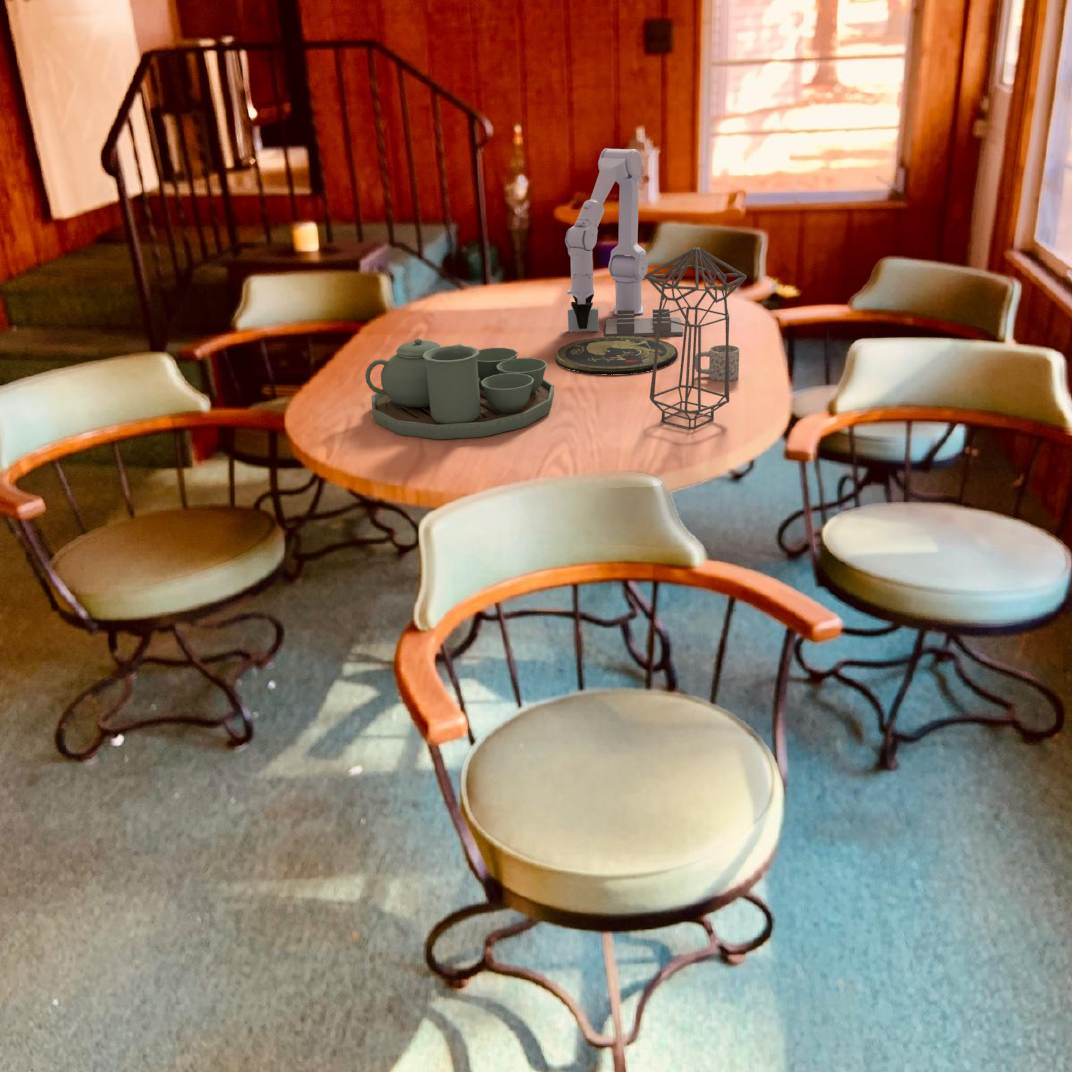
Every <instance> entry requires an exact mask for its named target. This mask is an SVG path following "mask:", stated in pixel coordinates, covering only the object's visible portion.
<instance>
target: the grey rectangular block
mask: <svg viewBox="0 0 1072 1072" xmlns="http://www.w3.org/2000/svg"><path fill="white" fill-rule="evenodd" d="M567 320H568V321H567V323H568V325H567V326H568V327H567V328H568V329H567V330H568V331H569V332H568V331H567V332H568V333H572V332H571V331H597V332H599V331H598V330H600V328H599V327H600V326H599V325H600V324H599V323H600V322H599V307H591V309H590V312H589V318H588V325H587V329H579V327H578V323H577V319H576V315H575V312H574V310H573V308H572V307H568V308H567Z"/></svg>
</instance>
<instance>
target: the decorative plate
mask: <svg viewBox="0 0 1072 1072" xmlns="http://www.w3.org/2000/svg"><path fill="white" fill-rule="evenodd" d="M655 346H656V338H653V337H637V336H599V337H597V336H596V337H591V338H585V339H580V340H576V341H572V342H570V343H567V344H565V345H563V346H562V347H560V348H559V349H558V350H557V351H556V355H555V362H556V361H557V362H556V363H557V364H558V365H559V366H560V367H562V368H563V367H564V369H566V370H568V369H570V370H569V371H571V370H575V371H574V372H576V371H579V372H578V373H580V372H583V373H582V374H587V373H589V374H588V375H596V374H607V375H606V376H614V375H613V374H628V375H634V374H633V373H638V374H643V373H642V372H644V373H648V372H647V371H650V372H652V371H651V370H653V365H654V356H655ZM678 357H679V352H678V349H677V347H676V346H674V345H673V344H672V343H669V342H668V341H664V340H662V339H659V345H658V355H657V368H656V369H657V370H660V368H661V369H663V368H666V367H668V366H670V365H672V364H673V362H674V361H675V362H676V361H677V360H678ZM676 359H677V360H676ZM675 362H674V363H675ZM671 363H672V364H671ZM665 366H666V367H665ZM631 373H632V374H631ZM611 374H612V375H611Z"/></svg>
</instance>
